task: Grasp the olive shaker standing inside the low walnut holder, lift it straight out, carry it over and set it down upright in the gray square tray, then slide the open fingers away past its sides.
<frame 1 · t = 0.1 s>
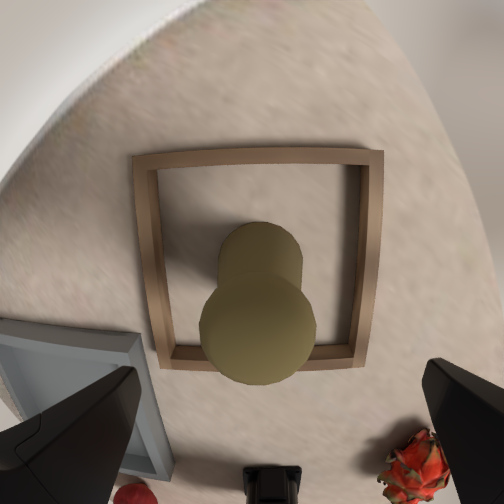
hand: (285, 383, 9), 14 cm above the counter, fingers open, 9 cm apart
pomegranate: (142, 482, 33), on the counter
dragon fruit: (408, 445, 29), on the counter
gray square tray: (82, 398, 28), on the counter
walnut holder: (260, 263, 23), on the counter
olive shaker: (260, 262, 23), resting in walnut holder
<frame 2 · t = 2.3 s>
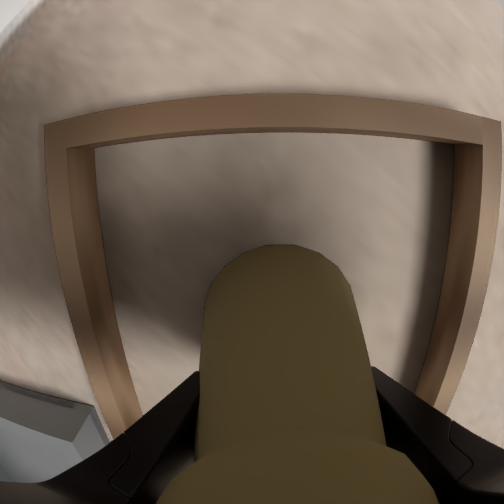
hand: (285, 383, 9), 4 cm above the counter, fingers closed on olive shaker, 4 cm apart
gray square tray: (40, 461, 18), on the counter
walnut holder: (280, 318, 13), on the counter
olive shaker: (280, 315, 13), resting in walnut holder, touching gripper
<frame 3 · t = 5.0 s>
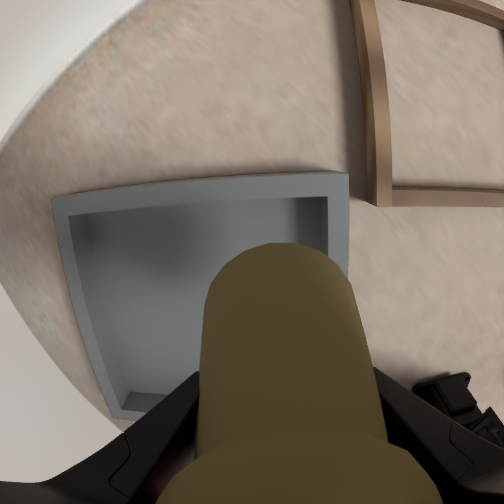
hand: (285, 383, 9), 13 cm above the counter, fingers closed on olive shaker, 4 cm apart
gray square tray: (207, 308, 22), on the counter
walnut holder: (461, 93, 17), on the counter
olive shaker: (280, 314, 13), point 9 cm above the counter, touching gripper
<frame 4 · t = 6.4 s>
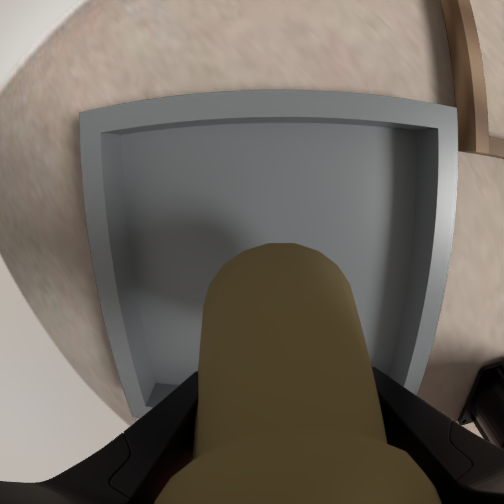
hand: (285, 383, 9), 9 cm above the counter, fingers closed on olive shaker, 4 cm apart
gray square tray: (273, 270, 18), on the counter
olive shaker: (279, 314, 13), point 5 cm above the counter, touching gripper
when the fingers open (5 cm above the counter, at t = 7.7 s): olive shaker stays where it is, resting on gray square tray.
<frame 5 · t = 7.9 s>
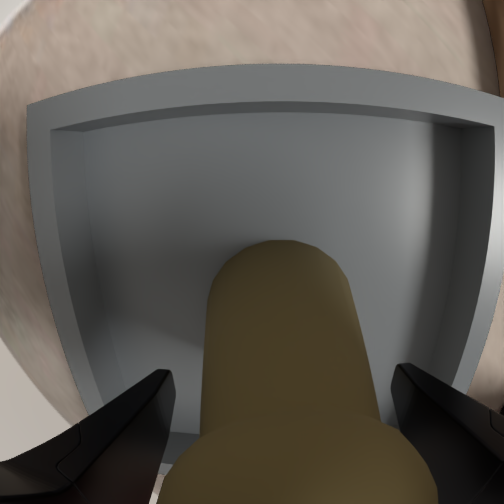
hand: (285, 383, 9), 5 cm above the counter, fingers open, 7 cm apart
gray square tray: (278, 305, 14), on the counter
olive shaker: (280, 308, 13), resting on gray square tray
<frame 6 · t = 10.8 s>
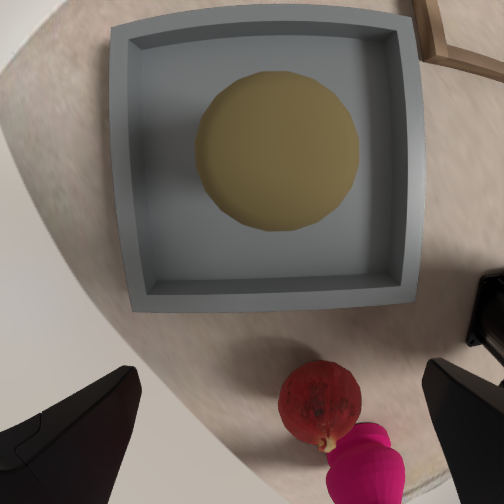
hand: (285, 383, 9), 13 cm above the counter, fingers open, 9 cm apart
pomegranate: (313, 369, 24), on the counter
pepper mill: (356, 441, 27), on the counter
gray square tray: (269, 154, 19), on the counter
olive shaker: (270, 154, 19), resting on gray square tray
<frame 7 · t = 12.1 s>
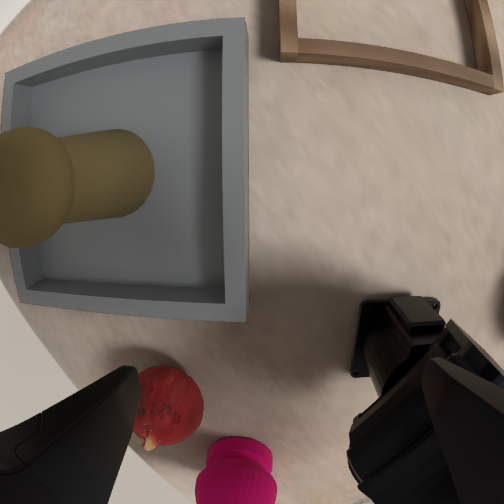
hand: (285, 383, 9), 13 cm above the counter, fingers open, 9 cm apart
pomegranate: (176, 374, 25), on the counter
pepper mill: (240, 454, 27), on the counter
gray square tray: (117, 173, 20), on the counter
olive shaker: (115, 173, 20), resting on gray square tray
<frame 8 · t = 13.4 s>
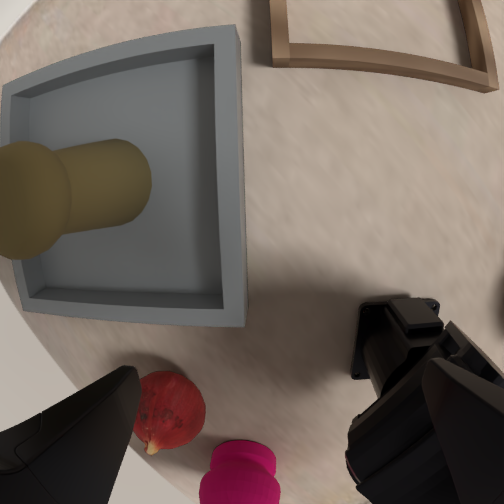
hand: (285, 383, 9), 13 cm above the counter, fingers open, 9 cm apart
pomegranate: (179, 379, 25), on the counter
pepper mill: (244, 457, 27), on the counter
gray square tray: (115, 182, 21), on the counter
olive shaker: (113, 182, 20), resting on gray square tray
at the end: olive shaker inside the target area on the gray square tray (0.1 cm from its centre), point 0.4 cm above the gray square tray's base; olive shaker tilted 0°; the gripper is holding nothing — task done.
